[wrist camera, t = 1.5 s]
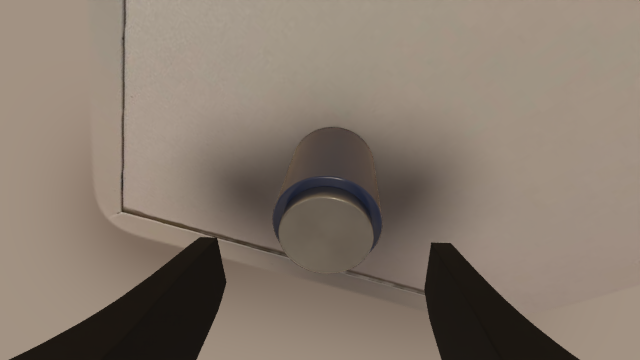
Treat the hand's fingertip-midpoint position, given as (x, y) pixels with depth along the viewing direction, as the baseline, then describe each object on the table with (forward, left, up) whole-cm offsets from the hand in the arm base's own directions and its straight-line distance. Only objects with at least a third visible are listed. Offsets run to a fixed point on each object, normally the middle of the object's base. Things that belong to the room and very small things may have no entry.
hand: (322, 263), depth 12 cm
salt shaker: (0, 0, -8) cm, 8 cm away
